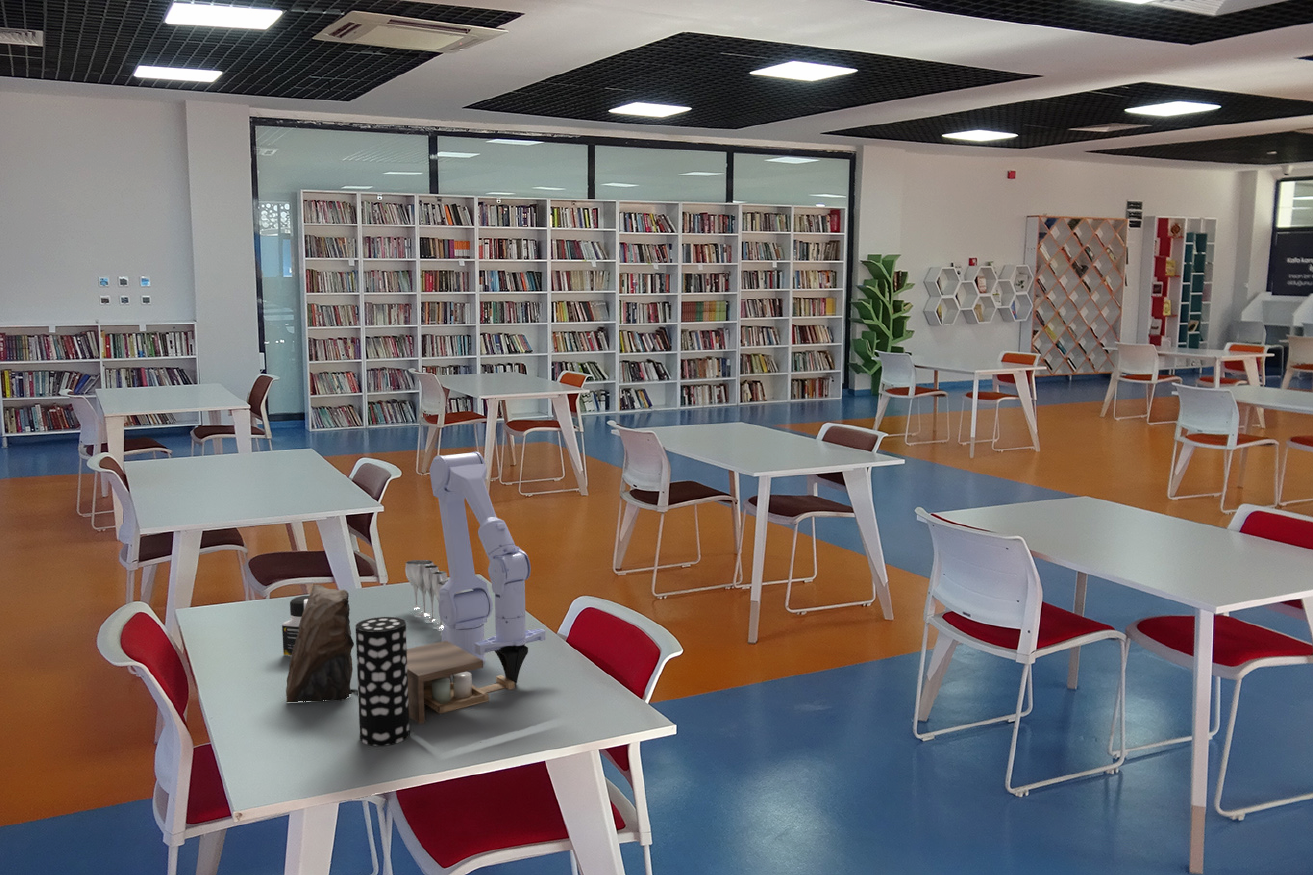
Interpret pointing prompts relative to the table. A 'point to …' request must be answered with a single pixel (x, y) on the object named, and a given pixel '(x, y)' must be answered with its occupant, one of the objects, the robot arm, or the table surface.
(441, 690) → the grey-green round cylinder
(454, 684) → the off-white round cylinder
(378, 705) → the white-spotted black cylinder
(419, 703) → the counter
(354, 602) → the table surface
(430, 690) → the oak tray
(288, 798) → the table surface
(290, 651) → the medicine bottle
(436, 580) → the goblet set
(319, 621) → the brown rock
